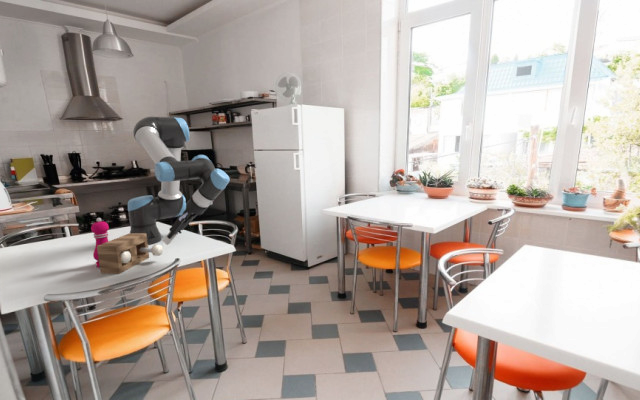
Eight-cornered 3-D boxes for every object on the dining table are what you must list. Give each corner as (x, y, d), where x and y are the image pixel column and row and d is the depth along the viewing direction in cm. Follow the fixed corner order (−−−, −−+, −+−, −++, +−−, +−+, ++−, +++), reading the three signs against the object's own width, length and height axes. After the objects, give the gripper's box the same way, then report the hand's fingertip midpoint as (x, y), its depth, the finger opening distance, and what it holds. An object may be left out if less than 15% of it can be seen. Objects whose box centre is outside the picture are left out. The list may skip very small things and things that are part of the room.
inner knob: (145, 253, 139) (144, 243, 139) (163, 253, 138) (162, 243, 138) (138, 257, 135) (136, 246, 134) (156, 257, 134) (155, 246, 133)
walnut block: (132, 257, 143) (129, 233, 141) (149, 257, 142) (146, 233, 140) (100, 273, 125) (96, 246, 123) (119, 273, 124) (116, 246, 122)
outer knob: (112, 260, 131) (111, 249, 131) (131, 260, 130) (130, 249, 130) (104, 264, 127) (102, 253, 126) (123, 264, 126) (122, 253, 125)
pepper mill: (119, 261, 138) (113, 215, 134) (107, 268, 131) (100, 219, 127) (104, 261, 139) (97, 216, 135) (90, 267, 131) (83, 220, 128)
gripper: (199, 211, 124) (163, 253, 128) (213, 205, 136) (180, 243, 141) (184, 198, 123) (149, 240, 128) (200, 193, 136) (167, 232, 141)
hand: (165, 242), depth 134 cm, fingers closed
